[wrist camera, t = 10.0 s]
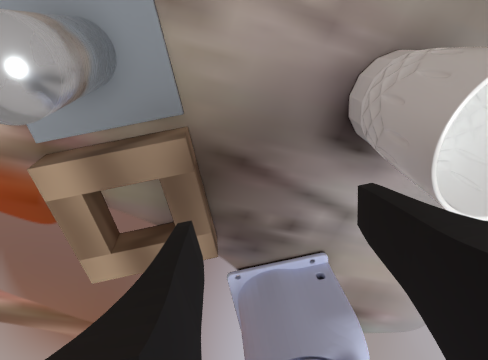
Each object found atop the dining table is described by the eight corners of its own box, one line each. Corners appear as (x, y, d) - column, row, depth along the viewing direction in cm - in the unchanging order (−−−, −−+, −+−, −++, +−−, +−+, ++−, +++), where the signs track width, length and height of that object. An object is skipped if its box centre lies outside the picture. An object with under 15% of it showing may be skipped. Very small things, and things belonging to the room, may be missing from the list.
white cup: (460, 47, 21) (655, 58, 12) (419, 152, 24) (545, 223, 15) (355, 33, 19) (483, 34, 10) (328, 146, 23) (406, 219, 14)
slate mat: (135, -71, 16) (133, -73, 15) (183, 112, 20) (183, 114, 20) (-54, -37, 15) (-60, -38, 15) (39, 141, 20) (36, 143, 20)
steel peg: (102, 11, 17) (27, -3, 10) (125, 82, 19) (77, 115, 12) (31, 22, 17) (-97, 17, 10) (62, 93, 18) (-27, 133, 11)
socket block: (187, 126, 21) (185, 137, 19) (217, 237, 25) (217, 256, 23) (46, 154, 20) (26, 169, 18) (102, 261, 25) (92, 283, 23)
